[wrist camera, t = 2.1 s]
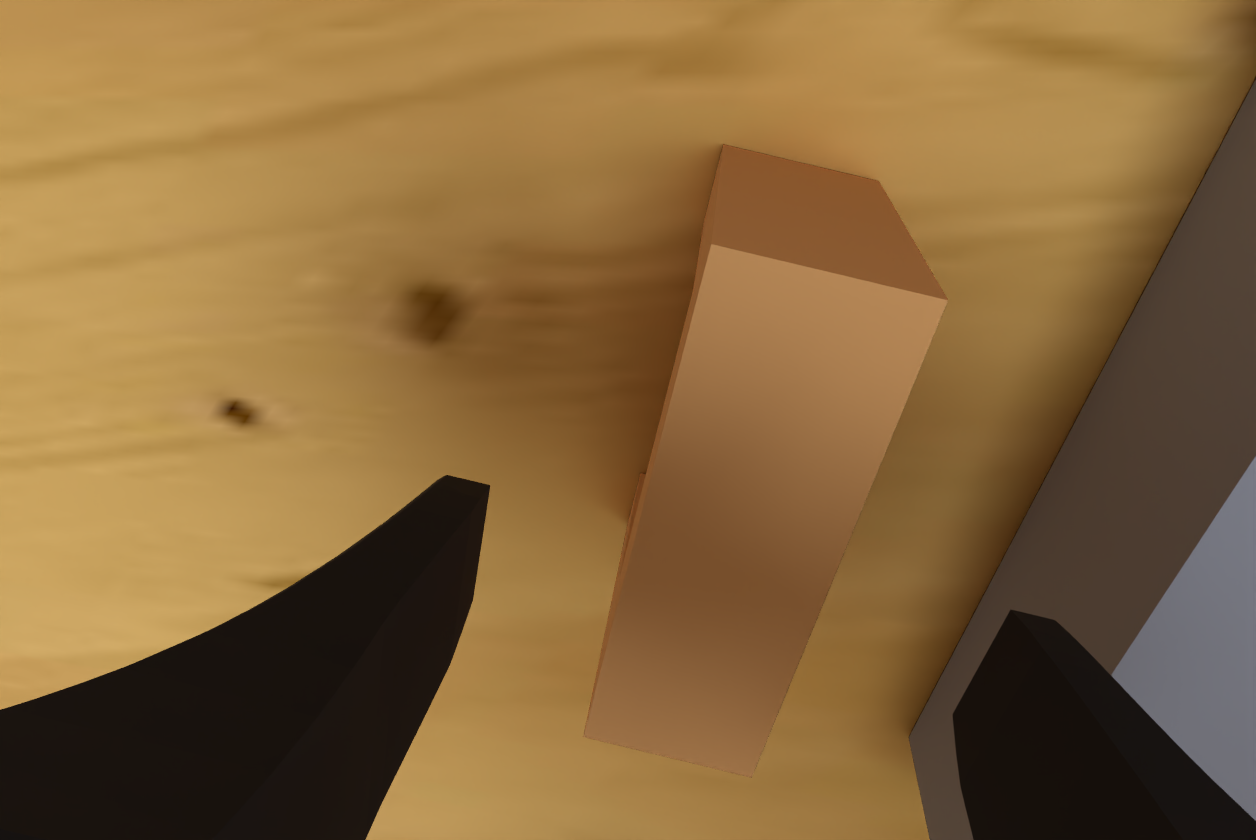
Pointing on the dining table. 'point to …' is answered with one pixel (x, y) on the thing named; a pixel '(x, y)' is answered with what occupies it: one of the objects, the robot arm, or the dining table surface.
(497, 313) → the dining table surface
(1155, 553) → the grey rectangular frame
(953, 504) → the dining table surface
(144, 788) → the robot arm
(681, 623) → the toy arch block
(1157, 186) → the dining table surface
